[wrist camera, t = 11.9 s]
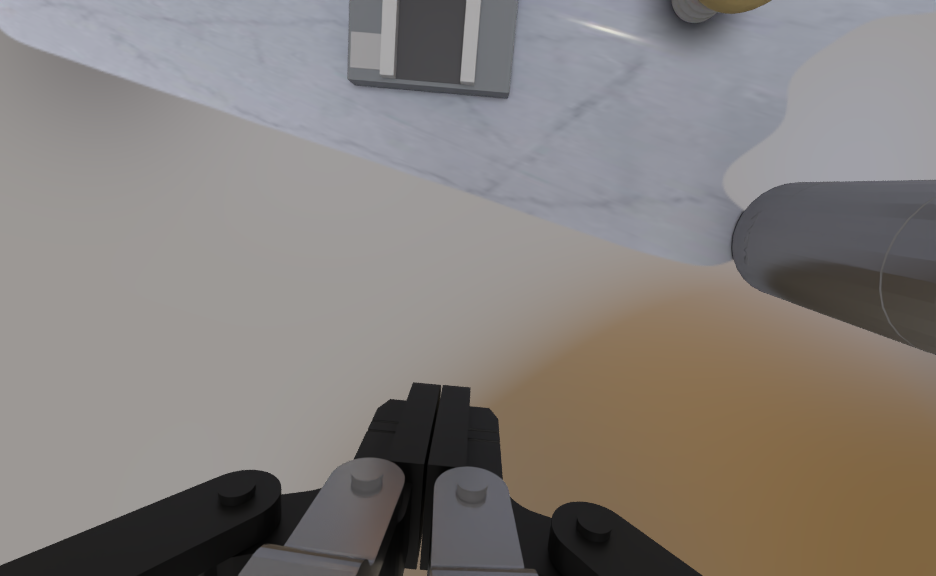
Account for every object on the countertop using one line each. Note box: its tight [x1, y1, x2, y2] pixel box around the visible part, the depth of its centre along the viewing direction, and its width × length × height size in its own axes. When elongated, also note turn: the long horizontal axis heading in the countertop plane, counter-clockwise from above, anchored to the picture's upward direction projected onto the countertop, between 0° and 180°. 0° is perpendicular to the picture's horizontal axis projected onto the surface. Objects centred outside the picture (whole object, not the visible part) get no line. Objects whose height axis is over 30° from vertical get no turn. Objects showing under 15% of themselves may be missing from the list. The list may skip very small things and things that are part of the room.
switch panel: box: [347, 0, 518, 98], centre depth 33 cm, size 12×11×3 cm
